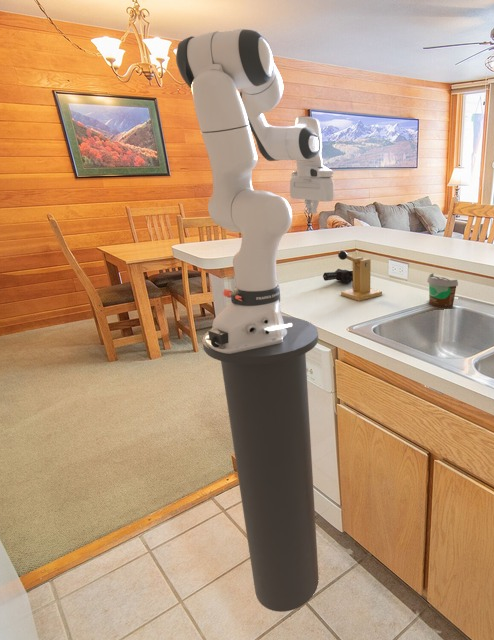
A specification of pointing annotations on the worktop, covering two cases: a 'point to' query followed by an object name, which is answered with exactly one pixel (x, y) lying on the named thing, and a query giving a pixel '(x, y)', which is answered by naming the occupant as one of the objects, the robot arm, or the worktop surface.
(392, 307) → the worktop surface
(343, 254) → the latch lever
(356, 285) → the lever stand
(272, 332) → the robot arm
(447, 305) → the food container
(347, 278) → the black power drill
